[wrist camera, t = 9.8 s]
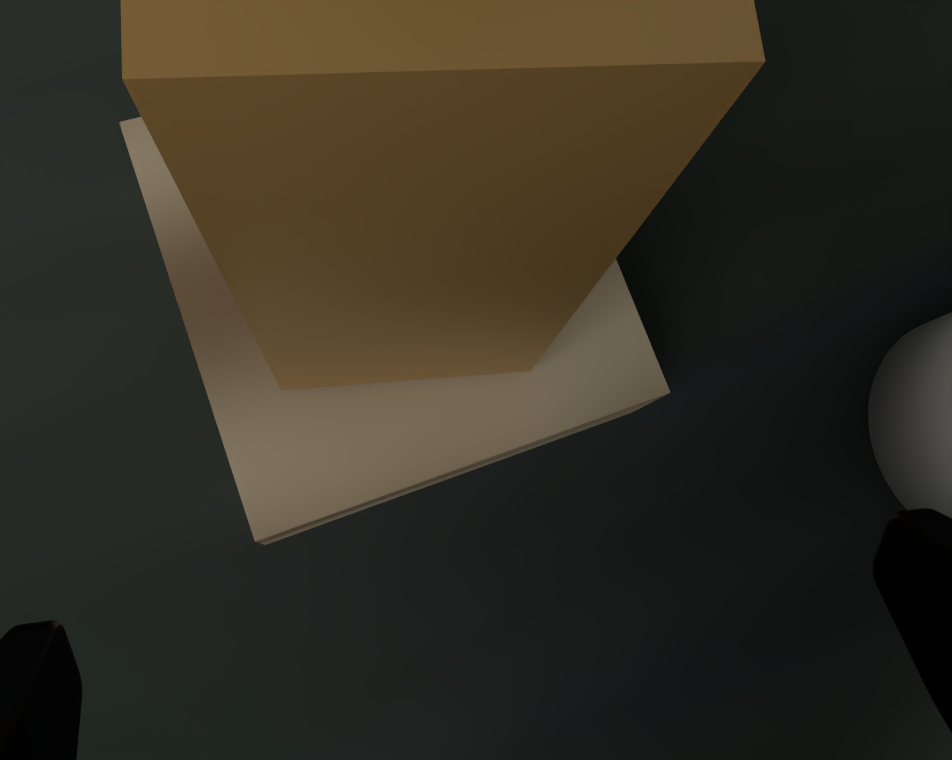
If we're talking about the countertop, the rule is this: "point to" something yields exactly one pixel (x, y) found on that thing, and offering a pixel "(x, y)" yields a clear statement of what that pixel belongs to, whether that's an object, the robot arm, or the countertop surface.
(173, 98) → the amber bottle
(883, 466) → the white jar
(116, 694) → the countertop surface
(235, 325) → the beech block
